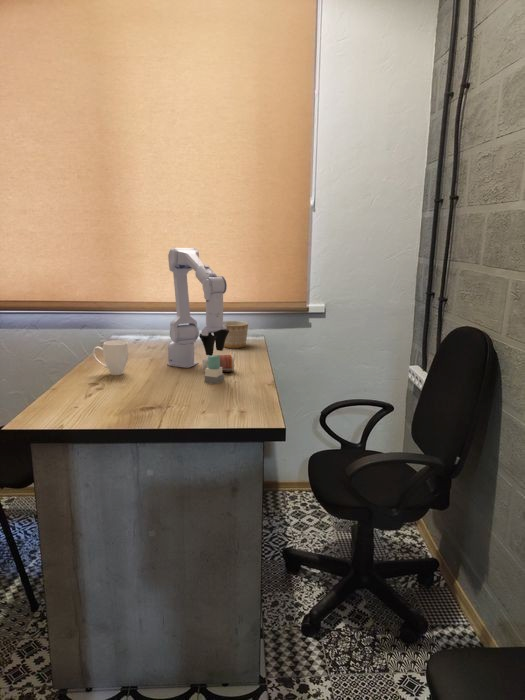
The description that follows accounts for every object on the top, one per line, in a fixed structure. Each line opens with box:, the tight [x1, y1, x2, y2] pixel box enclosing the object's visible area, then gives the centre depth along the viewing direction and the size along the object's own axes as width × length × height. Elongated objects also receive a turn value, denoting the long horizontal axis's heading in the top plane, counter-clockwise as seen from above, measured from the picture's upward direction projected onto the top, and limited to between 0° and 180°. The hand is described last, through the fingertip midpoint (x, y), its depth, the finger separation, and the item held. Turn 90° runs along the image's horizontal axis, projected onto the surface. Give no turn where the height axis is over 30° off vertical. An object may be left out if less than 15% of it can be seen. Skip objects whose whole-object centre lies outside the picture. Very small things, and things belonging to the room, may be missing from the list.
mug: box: [92, 339, 129, 376], centre depth 177 cm, size 12×8×11 cm
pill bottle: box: [202, 354, 235, 373], centre depth 184 cm, size 6×6×11 cm
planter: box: [223, 320, 249, 349], centre depth 225 cm, size 13×13×10 cm
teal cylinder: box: [207, 354, 220, 369], centre depth 171 cm, size 4×4×4 cm
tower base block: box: [204, 373, 225, 384], centre depth 173 cm, size 5×5×2 cm
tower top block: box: [204, 367, 223, 377], centre depth 172 cm, size 4×4×2 cm
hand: (214, 352), depth 171 cm, fingers open, 7 cm apart
